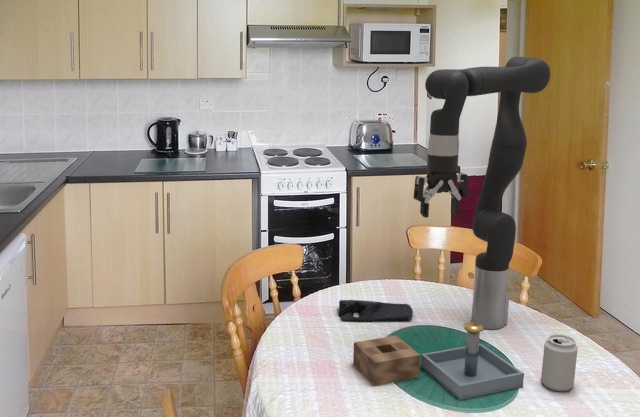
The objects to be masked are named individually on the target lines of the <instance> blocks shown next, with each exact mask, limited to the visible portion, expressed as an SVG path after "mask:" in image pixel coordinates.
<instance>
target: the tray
mask: <svg viewBox="0 0 640 417" xmlns="http://www.w3.org/2000/svg"><path fill="white" fill-rule="evenodd" d="M465 353H466V345H465V346H460V347H455V348H449V349H444V350H443V349H442V350H436V351H432V352H427V353H421V354H420V368H421V369H422V368H423V369H424V371H425V373H427V374H428V375H429V376H430V375H431V376H430V377H432V378H433V379H434V380H435V381H436V382H437V383H439V384H440V385H441V386H442V387H443V388H445V390H446V391H448V392H449V393H450V394H452V395H453V396H454V397H455V398H456V399H457V400H459V401H462V400H467V399H472V398H476V397H481V396H485V395H486V396H487V395H490V394H491V395H492V394H495V393H501V392H505V391H510V390H514V389H520V388H523V387H524V378H525V373H524V372H522V371H521V370H520V369H518V368H517V367H516V366H514V365H512V363H510V362H508V361H507V360H505V359H504V358H502V357H501V356H500V355H498V354H497V353H496V352H494V351H492V350H491V349H490V348H488V347H487V346H485V345H484V344H482V343H479V350H478V363H477V375H476V376H474V377H469V376H466V375H465V374H464V367H465ZM423 369H422V370H423Z"/></svg>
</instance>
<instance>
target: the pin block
mask: <svg viewBox="0 0 640 417" xmlns="http://www.w3.org/2000/svg"><path fill="white" fill-rule="evenodd" d="M352 355H353V357H352V359H353V360H352V361H353V362H352V364H353V366H354V367H355V368H356V369H357V370H358V371H359V372H360V373H361V374H362V375H363V376H364V377H365V378H366V379H367V380H368V381H369V382H370V383H371V385H373V386H374V387H377V386H383V385H388V384H392V383H397V381H399V382H403V381H402V380H404V381H409V380H413V378H415V379H419V378H420V368H421V354H420V353H419V352H417V351H416V350H415V349H414V348H412V346H410V345H409V344H408V343H406V341H404V340H403V339H402V338H400V337H399V336H398V335H390V336H384V337H379V338H373V339H366V340H361V341H354V342H353V353H352ZM418 377H419V378H418ZM408 379H409V380H408Z"/></svg>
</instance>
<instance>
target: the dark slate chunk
mask: <svg viewBox="0 0 640 417" xmlns="http://www.w3.org/2000/svg"><path fill="white" fill-rule="evenodd" d="M338 303H339V304H338V317H339V319H340V321H342V322H346V321H348V322H359V323H361V322H365V323H367V322H368V323H369V322H401V321H406V320H410V319H412V317H413V313H414V312H413V308H412V306H411V305H410V304H408V303H392V302H381V301H371V300H360V299H359V300H356V299H340V300H339V301H338ZM355 314H358V316H355Z"/></svg>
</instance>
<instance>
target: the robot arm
mask: <svg viewBox="0 0 640 417" xmlns="http://www.w3.org/2000/svg"><path fill="white" fill-rule="evenodd" d="M550 79H551V68H550V66H549V63H547V62H546V61H545V60H543V59H541V58H537V57H525V56H513V57H511V58H509V59H508V61H507V62H506V63H505V66H476V67H467V68H461V69H459V68H458V69H457V68H455V69H454V68H451V69H447V68H446V69H445V68H444V69H443V68H442V69H441V68H440V69H436V70H434V71H431V73H430V74H428V76H427V77H426V80H425V84H424V85H425V86H424V87H425V90H426V92H427V94H428V95H429V96H430V97H432V98H433V99H437V100H443V101H444V104H443V106H442V108H440V109H439V108H437V109H435V110H433V111H432V112H431V114H430V122H429V123H430V126H429V137H428V144H427V162H426V170H427V174H426V176H419V175H417V176H416V177H415V179H414V187H413V200H416V201H418V202H420V207H419V208H420V210H419V212H420V215H421V216H422V217H423V218H429V214H430V213H429V212H430V211H429V210H430V203H429V202H430V200H431V199H432V197H435V195H436V194H441V193H449V195H450V196H451V197H452V198H451V203H450V204H451V205H450V213H451V214H452V215H454V216H455V215H458V214H459V212H460V207H461V206H460V205H461V199H463V198H467V197H468V194H469V193H468V185H469V184H468V183H469V182H468V181H469V177H468V174H466V173H463V172H459V173H458V174H457V172H458V169H459V168H458V167H459V150H460V140H459V139H460V138H459V136H460V135H459V134H460V119H461V118H460V117H461V115H462V112H463V109H464V106H465V103H466V100H467V97H477V96H484V95H491V94H497V93H500V96H499V104H498V110H497V118H496V123H495V128H494V133H493V138H492V141H491V147H490V149H489V150H490V151H489V156H488V162H487V167H486V172H485V176H484V181H483V184H482V189H481V192H480V195H479V198H478V202H477V205H476V208H475V212H474V214H473V218H472V228H471V229H472V232H473V234H474V236H475V237H476V238H477V239H479V240H481V241H483V242H486V243H487V244H486V251H485V252H481V253H478V254H477V255H476V257H475V263H474V277H473V290H472V291H473V292H472V305H471V306H472V307H471V317H470V318H471V320H470V322H477V323H480V324H482V325H483V330H484V329H485V330H498V329H501V328H503V327H504V326H507V325H508V320H509V319H508V317H509V307H510V305H509V304H510V293H509V292H508V281H509V280H508V279H509V270H510V267H509V266H510V262H511V260H512V258H513V256H514V255H513V254H514V248H515V241H516V235H517V234H516V233H517V226H516V221H515V219H514V218H513V216H512V215H511V214H508V213H505V212H503V211H500V209H501V205H502V204H501V203H502V200H503V196H504V193H505V191H506V190H507V189H508V187H509V185H511V183H512V182H513V181H514V179H515V177H517V175H518V174H519V173H520V172H521V169H522V167H523V164H524V160H525V155H526V150H527V147H528V145H527V144H528V141H527V135H526V132H525V128H524V125H523V121H522V119H521V115H520V100H521V96H522V95H521V94H522V93H527V94H536V93H537V94H538V93H539V92H542V91H543V90H544V89H546V87H547V86H548V85H549V82H550ZM456 182H457V184H458V185H457V187H456V186H455V184H456ZM426 184H427V185H426ZM425 185H426V187H424V186H425Z"/></svg>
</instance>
